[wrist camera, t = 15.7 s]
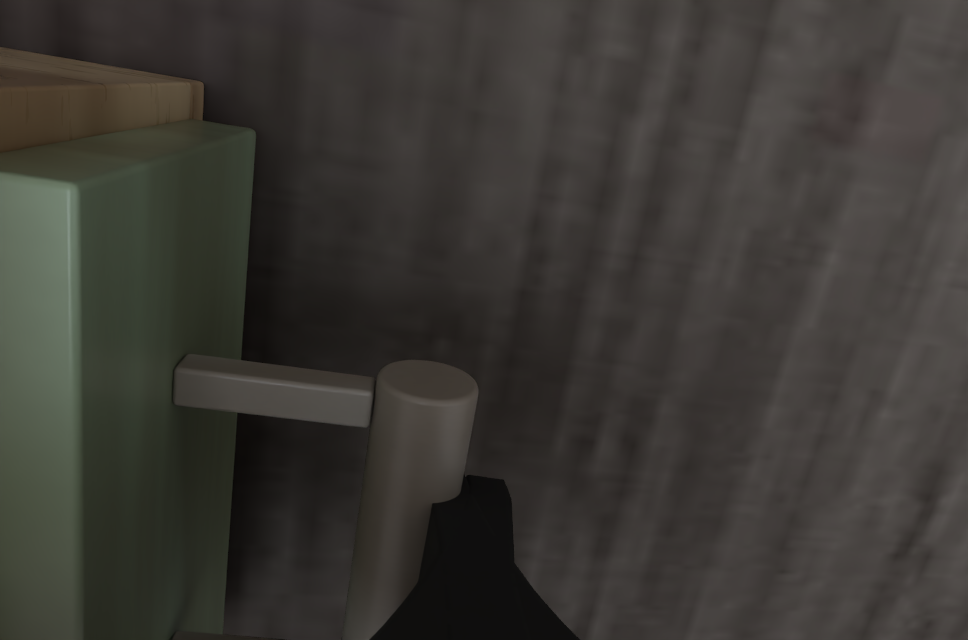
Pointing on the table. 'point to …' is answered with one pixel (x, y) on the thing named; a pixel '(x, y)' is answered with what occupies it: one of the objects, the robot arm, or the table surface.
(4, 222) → the drawer
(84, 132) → the cabinet
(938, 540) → the table surface
